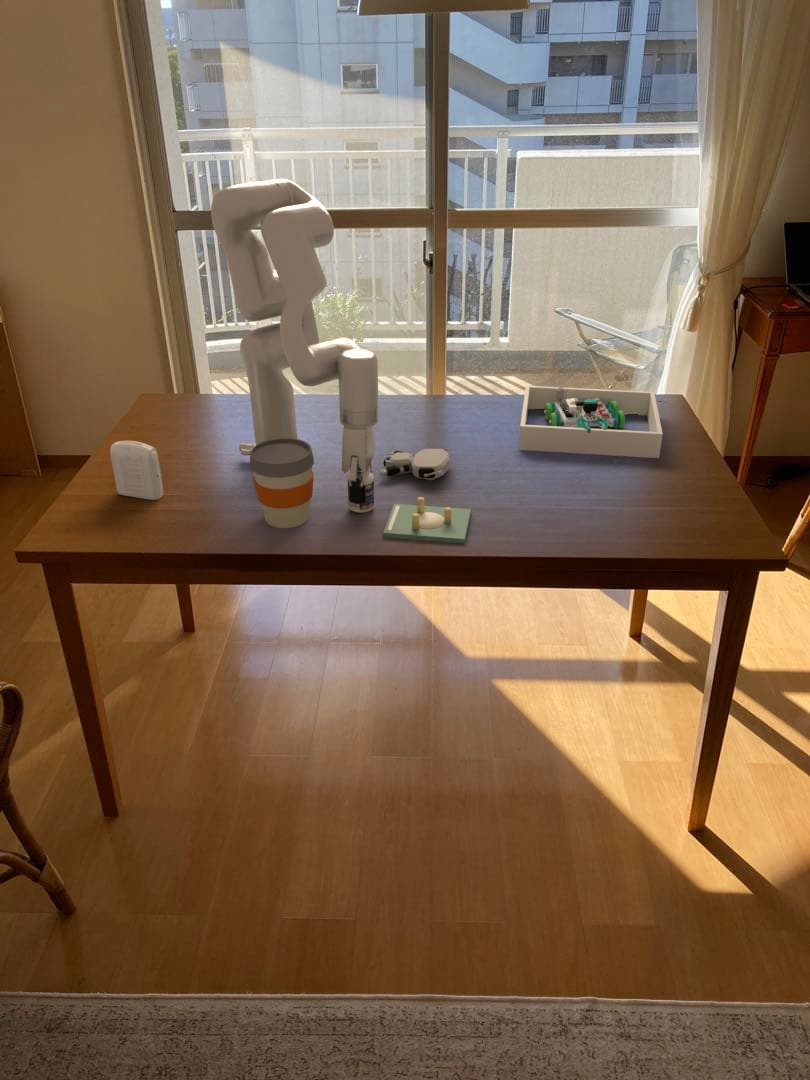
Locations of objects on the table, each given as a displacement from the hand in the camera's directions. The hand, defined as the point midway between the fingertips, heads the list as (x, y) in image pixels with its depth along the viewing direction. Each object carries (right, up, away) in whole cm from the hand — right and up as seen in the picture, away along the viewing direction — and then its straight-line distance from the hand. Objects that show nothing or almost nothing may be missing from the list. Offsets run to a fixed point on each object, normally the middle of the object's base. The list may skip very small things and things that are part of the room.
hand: (361, 494), depth 179 cm
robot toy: (+12, +5, +16) cm, 21 cm away
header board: (+14, -6, -4) cm, 16 cm away
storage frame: (+54, +17, +34) cm, 66 cm away
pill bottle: (0, -3, +2) cm, 3 cm away
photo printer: (-48, 0, +9) cm, 49 cm away
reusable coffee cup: (-15, -5, -1) cm, 16 cm away
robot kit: (+54, +17, +34) cm, 66 cm away
